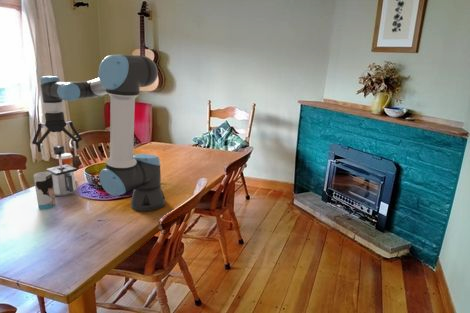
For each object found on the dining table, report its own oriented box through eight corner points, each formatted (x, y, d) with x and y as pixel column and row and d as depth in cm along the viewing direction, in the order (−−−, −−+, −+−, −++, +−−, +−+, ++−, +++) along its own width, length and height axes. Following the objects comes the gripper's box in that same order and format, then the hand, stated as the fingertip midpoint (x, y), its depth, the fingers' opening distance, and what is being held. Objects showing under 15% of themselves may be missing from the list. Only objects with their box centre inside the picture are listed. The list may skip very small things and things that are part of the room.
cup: (53, 209, 141) (49, 176, 137) (36, 210, 139) (31, 177, 135) (57, 202, 147) (53, 171, 143) (41, 203, 146) (36, 172, 141)
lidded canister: (83, 193, 158) (80, 169, 154) (61, 200, 150) (58, 175, 146) (69, 186, 165) (66, 163, 162) (48, 193, 157) (44, 168, 154)
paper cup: (68, 182, 170) (65, 157, 166) (55, 181, 172) (52, 155, 168) (78, 177, 178) (75, 153, 174) (66, 176, 179) (63, 152, 175)
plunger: (75, 188, 158) (70, 146, 153) (60, 192, 153) (54, 149, 147) (67, 184, 163) (62, 143, 157) (52, 189, 157) (46, 146, 151)
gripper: (83, 109, 156) (88, 152, 162) (22, 111, 145) (29, 157, 151) (85, 111, 150) (89, 156, 156) (20, 114, 138) (28, 162, 144)
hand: (59, 156), depth 153 cm, fingers open, 13 cm apart
